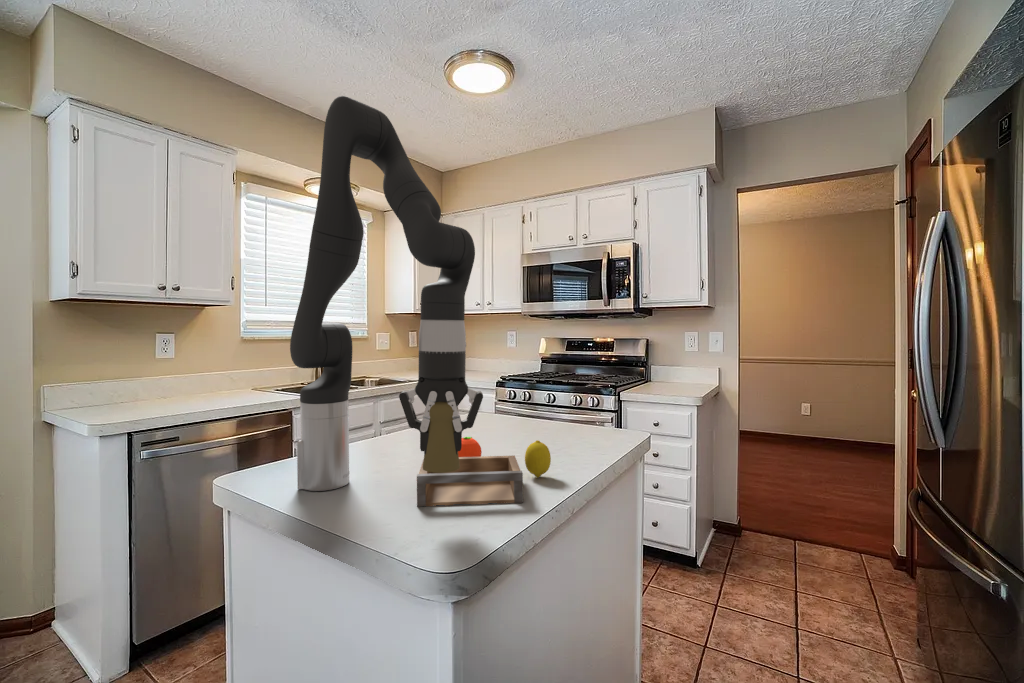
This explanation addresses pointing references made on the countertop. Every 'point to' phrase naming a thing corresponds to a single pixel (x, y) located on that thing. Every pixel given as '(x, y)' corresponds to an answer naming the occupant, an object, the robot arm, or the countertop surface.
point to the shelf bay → (473, 482)
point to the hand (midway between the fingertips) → (441, 453)
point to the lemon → (537, 458)
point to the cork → (441, 440)
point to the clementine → (469, 448)
